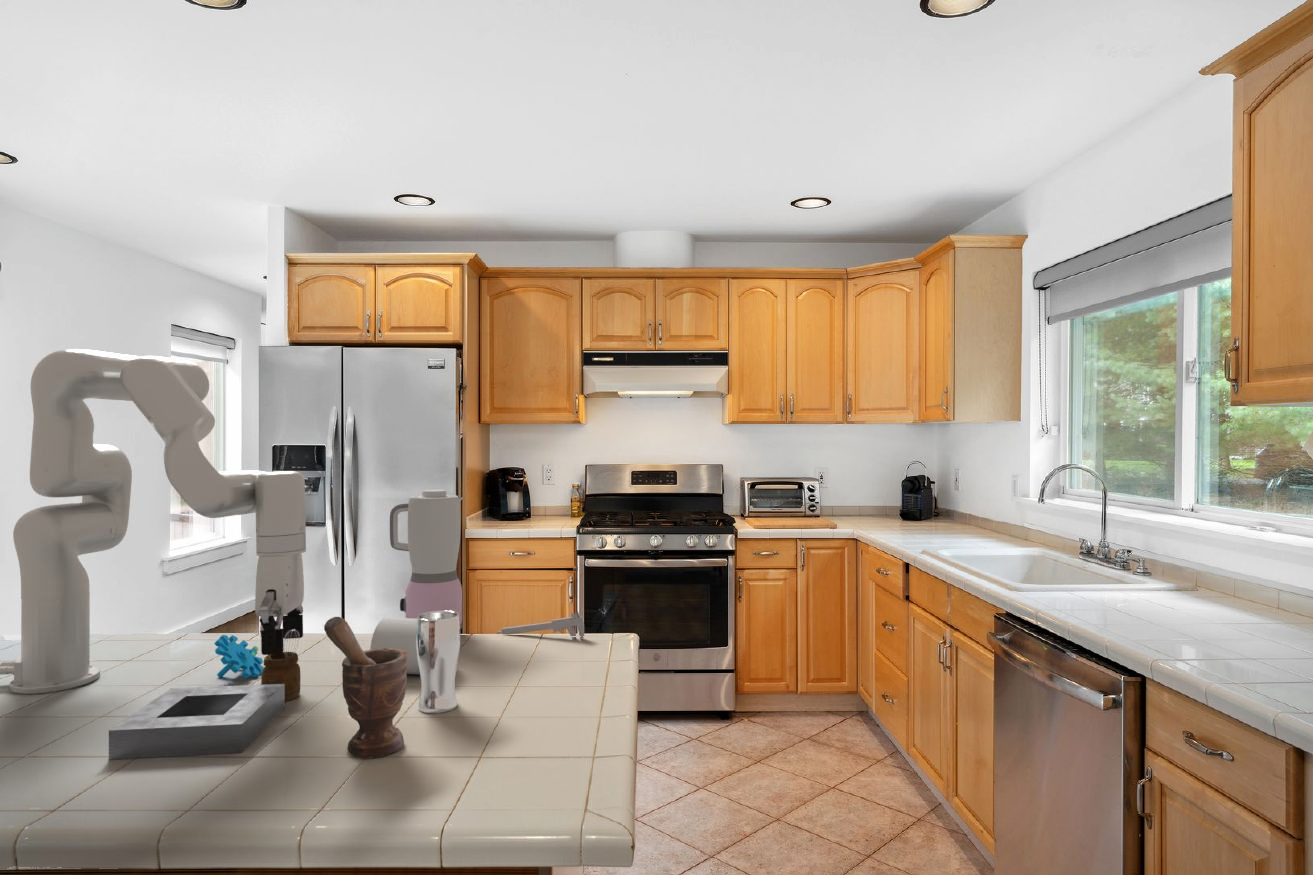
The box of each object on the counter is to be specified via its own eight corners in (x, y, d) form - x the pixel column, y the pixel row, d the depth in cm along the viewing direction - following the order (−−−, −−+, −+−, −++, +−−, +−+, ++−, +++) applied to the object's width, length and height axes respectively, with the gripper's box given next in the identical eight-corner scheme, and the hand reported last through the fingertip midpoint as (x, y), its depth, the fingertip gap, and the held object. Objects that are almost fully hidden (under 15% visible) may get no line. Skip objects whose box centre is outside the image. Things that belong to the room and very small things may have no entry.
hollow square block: (108, 759, 102) (108, 730, 102) (171, 713, 119) (171, 688, 119) (241, 752, 104) (241, 723, 104) (284, 708, 121) (284, 683, 121)
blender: (464, 625, 174) (464, 488, 174) (461, 639, 162) (462, 492, 162) (393, 628, 171) (393, 489, 171) (385, 643, 159) (385, 493, 159)
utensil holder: (307, 695, 127) (308, 624, 127) (272, 706, 122) (272, 633, 122) (287, 688, 130) (288, 620, 130) (252, 699, 125) (252, 628, 125)
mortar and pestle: (372, 774, 98) (372, 622, 98) (314, 768, 99) (314, 618, 99) (418, 739, 109) (418, 602, 109) (364, 734, 111) (365, 599, 111)
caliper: (584, 640, 163) (584, 611, 163) (582, 641, 162) (582, 612, 162) (498, 633, 168) (498, 605, 168) (496, 634, 167) (496, 606, 167)
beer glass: (468, 703, 124) (469, 612, 124) (440, 717, 117) (440, 622, 117) (436, 696, 127) (436, 608, 127) (406, 710, 120) (406, 617, 120)
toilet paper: (370, 680, 135) (370, 624, 135) (395, 663, 145) (395, 612, 145) (423, 682, 134) (423, 626, 134) (445, 665, 144) (445, 613, 144)
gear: (245, 677, 132) (209, 635, 133) (220, 701, 131) (184, 659, 132) (278, 666, 142) (245, 628, 144) (255, 689, 142) (221, 650, 143)
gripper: (276, 538, 134) (277, 633, 134) (236, 553, 117) (238, 662, 117) (320, 536, 135) (322, 631, 135) (287, 551, 118) (289, 659, 118)
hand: (283, 645), depth 126 cm, fingers open, 9 cm apart
